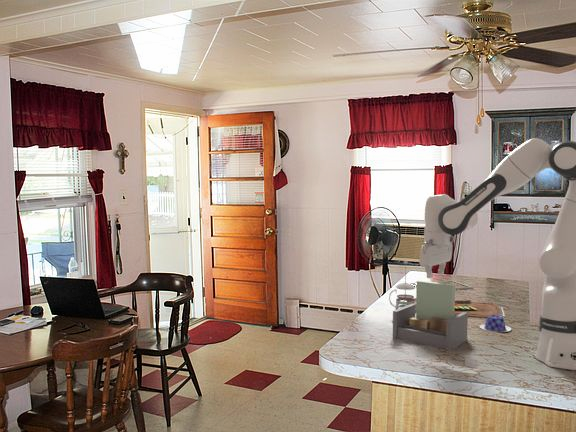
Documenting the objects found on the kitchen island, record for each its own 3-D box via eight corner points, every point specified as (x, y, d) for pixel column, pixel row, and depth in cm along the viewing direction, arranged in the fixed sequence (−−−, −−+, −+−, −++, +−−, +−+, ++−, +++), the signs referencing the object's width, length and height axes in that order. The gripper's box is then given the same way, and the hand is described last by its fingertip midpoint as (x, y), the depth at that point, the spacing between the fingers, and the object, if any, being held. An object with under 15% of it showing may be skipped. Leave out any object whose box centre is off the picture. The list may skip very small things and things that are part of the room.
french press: (417, 322, 229) (418, 262, 227) (388, 320, 231) (389, 261, 229) (416, 316, 238) (417, 259, 237) (389, 315, 241) (389, 258, 239)
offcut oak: (429, 337, 201) (430, 320, 201) (426, 339, 200) (427, 321, 199) (412, 334, 206) (412, 317, 205) (409, 335, 204) (409, 318, 204)
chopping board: (398, 313, 246) (398, 306, 246) (404, 300, 272) (404, 294, 271) (506, 320, 233) (506, 313, 233) (501, 306, 258) (502, 300, 258)
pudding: (486, 334, 213) (486, 320, 212) (474, 325, 225) (474, 313, 224) (516, 333, 213) (517, 320, 213) (503, 325, 225) (503, 312, 225)
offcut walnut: (450, 342, 196) (451, 320, 196) (447, 343, 194) (448, 321, 194) (432, 338, 201) (432, 316, 200) (429, 339, 199) (429, 318, 198)
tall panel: (454, 339, 200) (455, 284, 198) (451, 340, 198) (452, 285, 197) (418, 332, 209) (419, 280, 207) (415, 333, 207) (416, 281, 205)
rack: (467, 343, 199) (467, 312, 198) (450, 354, 187) (450, 321, 187) (411, 332, 213) (412, 303, 212) (392, 342, 202) (392, 311, 201)
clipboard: (410, 283, 307) (457, 280, 315) (410, 285, 307) (457, 283, 315) (427, 289, 289) (477, 286, 297) (427, 292, 289) (477, 289, 297)
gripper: (432, 242, 191) (431, 281, 192) (455, 237, 206) (454, 273, 208) (415, 240, 195) (414, 279, 196) (439, 235, 210) (438, 271, 212)
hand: (435, 276), depth 202 cm, fingers open, 8 cm apart
